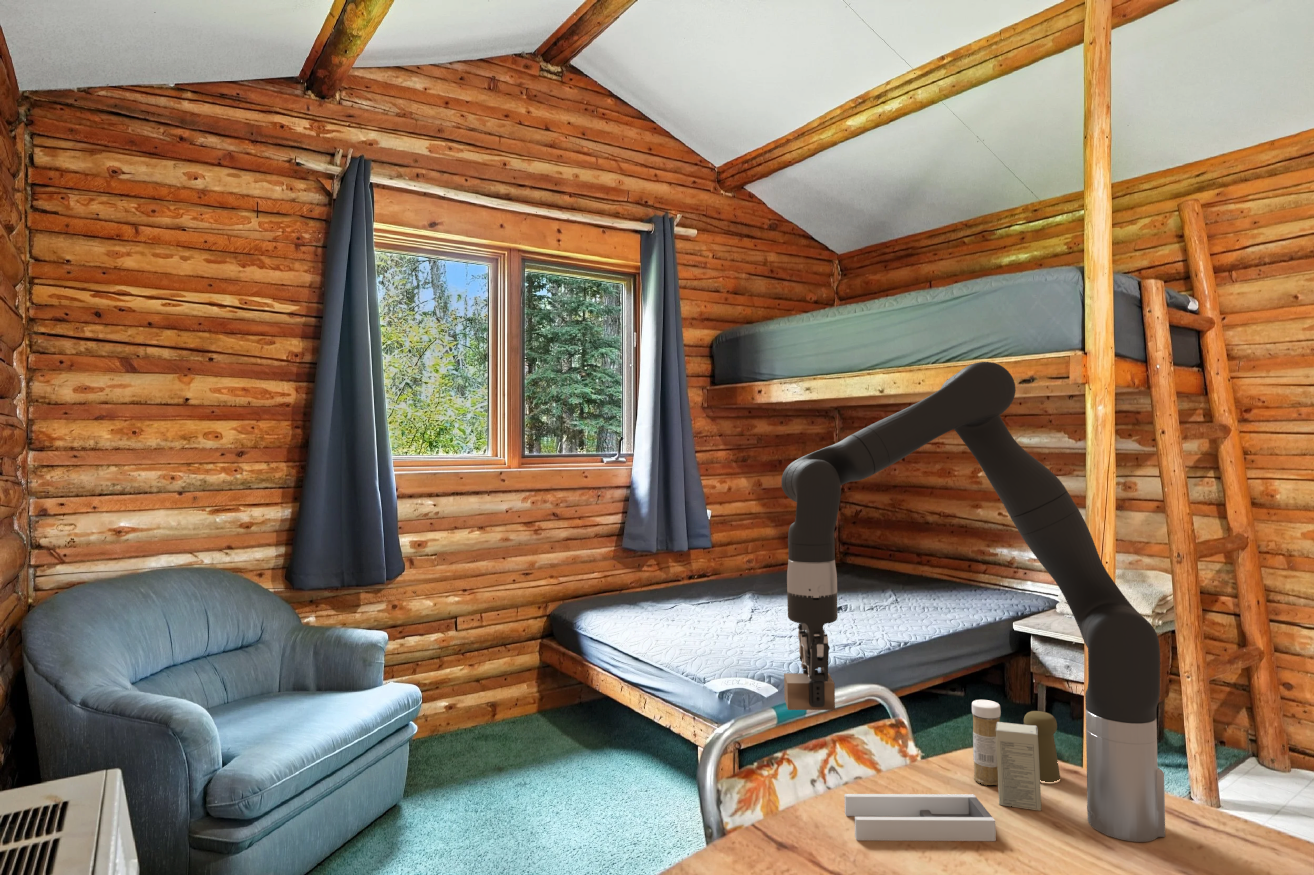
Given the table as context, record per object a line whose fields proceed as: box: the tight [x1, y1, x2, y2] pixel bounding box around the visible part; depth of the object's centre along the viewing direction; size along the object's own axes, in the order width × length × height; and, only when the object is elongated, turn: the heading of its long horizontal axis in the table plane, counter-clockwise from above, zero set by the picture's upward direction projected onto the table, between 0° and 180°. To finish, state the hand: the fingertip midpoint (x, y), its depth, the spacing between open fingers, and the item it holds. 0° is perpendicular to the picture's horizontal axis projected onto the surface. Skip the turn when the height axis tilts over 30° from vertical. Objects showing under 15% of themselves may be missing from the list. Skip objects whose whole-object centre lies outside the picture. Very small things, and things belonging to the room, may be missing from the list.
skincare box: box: [996, 721, 1042, 811], centre depth 126 cm, size 6×4×12 cm
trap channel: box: [844, 793, 997, 842], centre depth 119 cm, size 20×8×3 cm, turn 88°
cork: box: [1023, 710, 1061, 782], centre depth 136 cm, size 6×6×11 cm
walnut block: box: [783, 672, 836, 711], centre depth 119 cm, size 7×5×4 cm
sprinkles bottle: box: [971, 699, 1002, 786], centre depth 134 cm, size 5×5×14 cm
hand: (813, 699), depth 119 cm, fingers closed on walnut block, 5 cm apart
